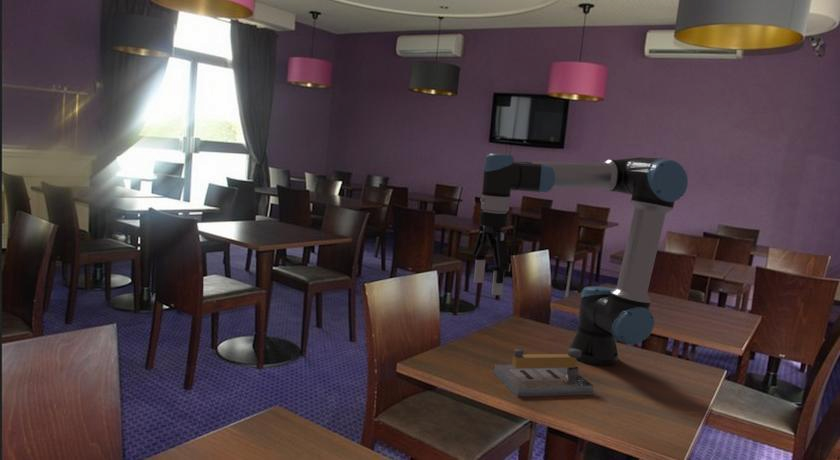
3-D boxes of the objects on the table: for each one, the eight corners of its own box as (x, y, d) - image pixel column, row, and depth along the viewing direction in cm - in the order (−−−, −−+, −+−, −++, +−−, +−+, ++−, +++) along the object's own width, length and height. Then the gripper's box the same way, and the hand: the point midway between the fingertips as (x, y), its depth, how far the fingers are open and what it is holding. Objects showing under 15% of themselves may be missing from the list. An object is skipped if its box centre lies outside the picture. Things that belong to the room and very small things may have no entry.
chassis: (563, 372, 176) (565, 357, 176) (592, 394, 161) (594, 378, 160) (493, 373, 170) (495, 357, 170) (517, 396, 155) (519, 379, 154)
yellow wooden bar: (575, 363, 170) (577, 347, 169) (582, 368, 166) (584, 352, 166) (510, 364, 164) (512, 348, 164) (515, 369, 161) (517, 352, 160)
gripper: (465, 205, 172) (459, 277, 175) (499, 216, 149) (491, 300, 152) (490, 206, 174) (483, 278, 177) (527, 218, 151) (518, 300, 154)
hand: (487, 288), depth 164 cm, fingers open, 13 cm apart
